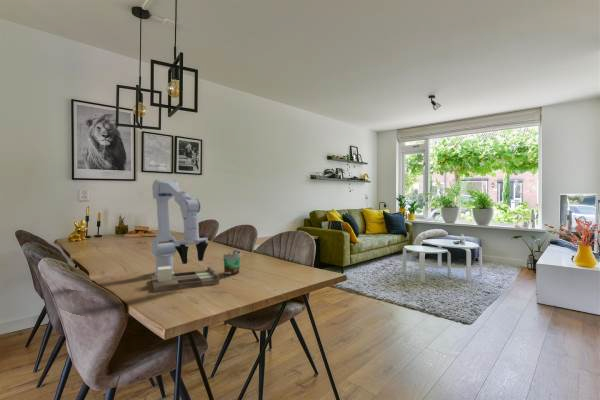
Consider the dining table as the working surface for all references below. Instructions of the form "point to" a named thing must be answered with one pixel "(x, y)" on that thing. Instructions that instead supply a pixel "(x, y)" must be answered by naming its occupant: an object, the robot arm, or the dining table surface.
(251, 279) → the dining table surface
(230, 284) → the dining table surface
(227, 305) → the dining table surface
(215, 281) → the trap deck
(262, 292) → the dining table surface
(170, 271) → the block
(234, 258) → the food container
